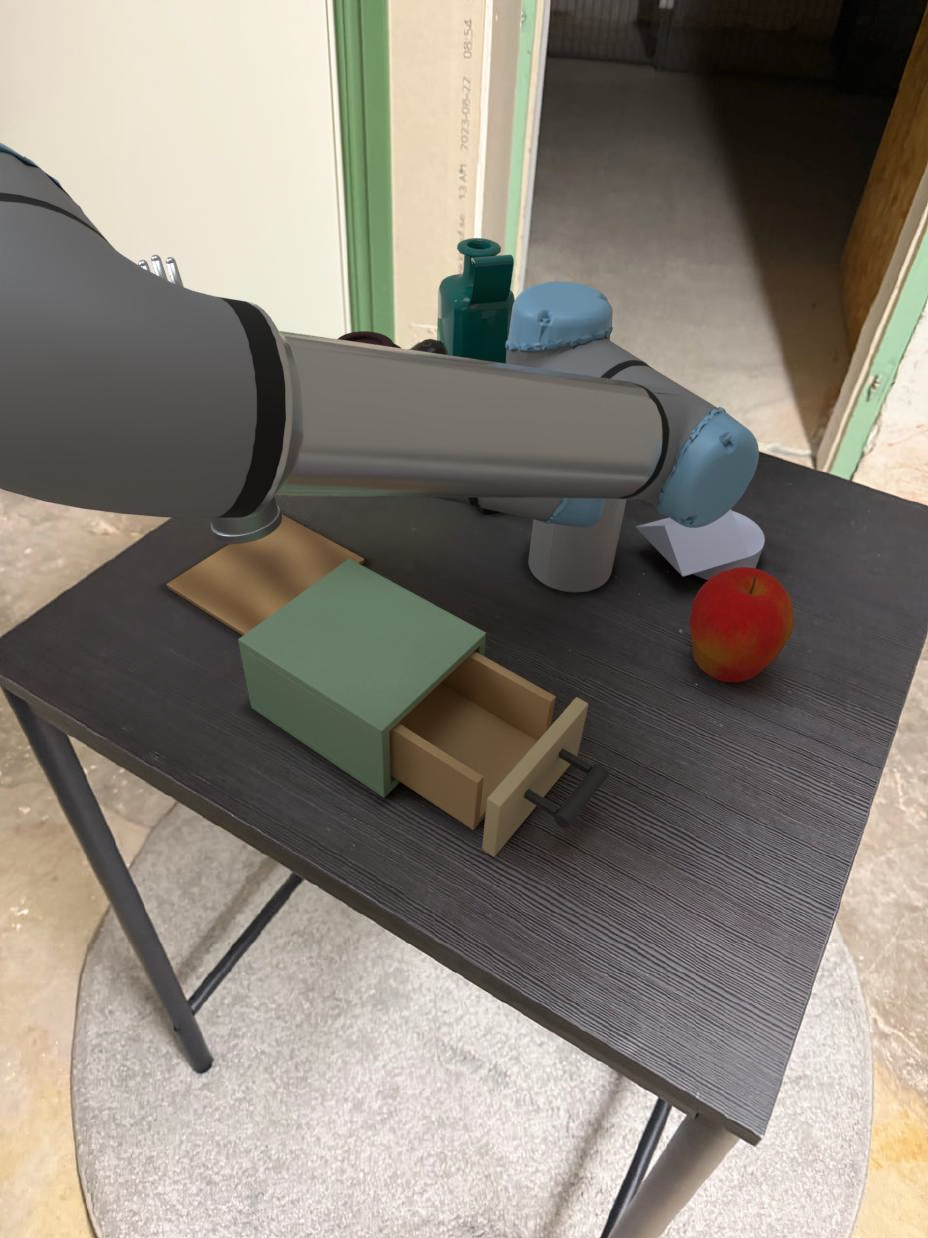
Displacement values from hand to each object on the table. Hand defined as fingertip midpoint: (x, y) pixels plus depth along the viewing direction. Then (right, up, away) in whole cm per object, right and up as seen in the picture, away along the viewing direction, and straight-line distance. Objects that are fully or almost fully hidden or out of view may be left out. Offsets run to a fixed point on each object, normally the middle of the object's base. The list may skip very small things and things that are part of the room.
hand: (195, 406), depth 80 cm
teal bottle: (+26, +9, +39) cm, 48 cm away
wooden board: (+4, -15, +12) cm, 20 cm away
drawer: (+27, -33, -6) cm, 42 cm away
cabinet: (+16, -27, 0) cm, 32 cm away
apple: (+50, -25, +5) cm, 56 cm away
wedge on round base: (+51, -13, +17) cm, 55 cm away
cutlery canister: (+3, -10, +7) cm, 13 cm away
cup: (+36, -14, +16) cm, 42 cm away
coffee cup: (+13, +1, +30) cm, 32 cm away
